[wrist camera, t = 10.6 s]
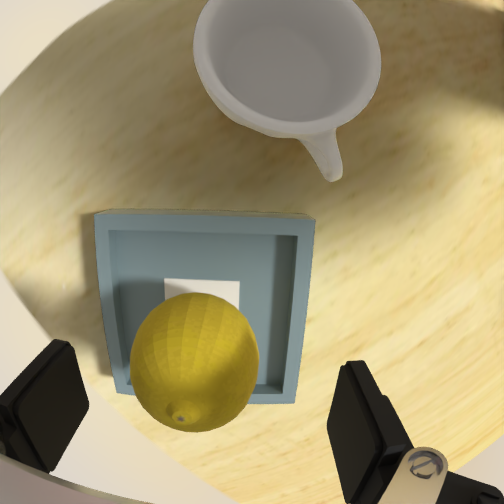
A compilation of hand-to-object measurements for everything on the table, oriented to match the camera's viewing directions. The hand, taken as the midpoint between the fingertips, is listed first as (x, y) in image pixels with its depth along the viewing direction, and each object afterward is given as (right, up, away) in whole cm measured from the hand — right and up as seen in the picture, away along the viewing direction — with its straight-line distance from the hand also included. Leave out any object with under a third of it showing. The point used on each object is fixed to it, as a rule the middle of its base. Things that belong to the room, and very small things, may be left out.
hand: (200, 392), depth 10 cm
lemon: (-1, +1, +8) cm, 8 cm away
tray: (-1, +2, +9) cm, 9 cm away
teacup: (+3, +13, +6) cm, 15 cm away
